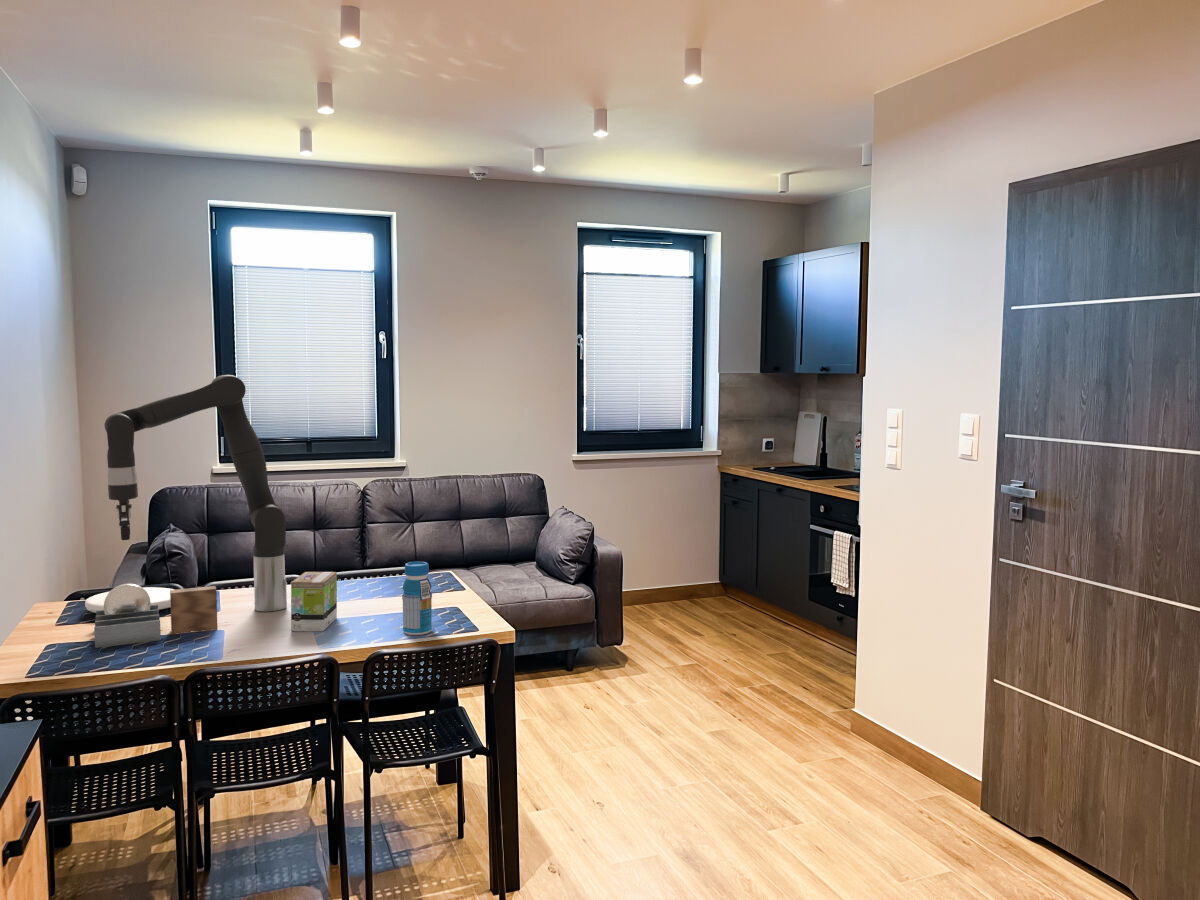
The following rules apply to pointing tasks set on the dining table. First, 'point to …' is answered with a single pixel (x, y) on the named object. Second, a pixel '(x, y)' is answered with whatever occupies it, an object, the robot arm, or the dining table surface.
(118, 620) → the dish rack
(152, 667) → the dining table surface
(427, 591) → the beverage bottle
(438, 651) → the dining table surface
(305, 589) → the tea box
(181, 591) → the walnut board
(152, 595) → the plate
